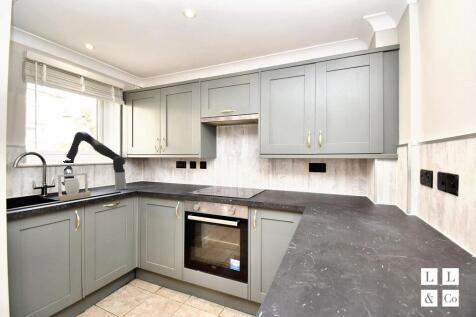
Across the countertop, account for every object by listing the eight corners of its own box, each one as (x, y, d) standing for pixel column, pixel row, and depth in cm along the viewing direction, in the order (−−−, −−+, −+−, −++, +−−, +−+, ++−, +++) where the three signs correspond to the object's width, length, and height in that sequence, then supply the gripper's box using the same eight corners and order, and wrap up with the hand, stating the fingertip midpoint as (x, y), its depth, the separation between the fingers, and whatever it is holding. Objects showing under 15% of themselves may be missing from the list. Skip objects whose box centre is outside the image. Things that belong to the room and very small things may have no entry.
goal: (58, 198, 176) (57, 174, 176) (88, 194, 190) (86, 172, 190) (60, 200, 166) (58, 175, 166) (91, 196, 180) (90, 173, 180)
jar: (62, 196, 186) (61, 179, 185) (75, 194, 195) (74, 177, 195) (69, 197, 182) (68, 179, 181) (82, 194, 191) (81, 178, 191)
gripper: (60, 173, 197) (62, 187, 189) (77, 172, 206) (80, 185, 198) (59, 178, 201) (61, 193, 193) (77, 177, 210) (79, 191, 202)
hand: (71, 189), depth 195 cm, fingers closed
